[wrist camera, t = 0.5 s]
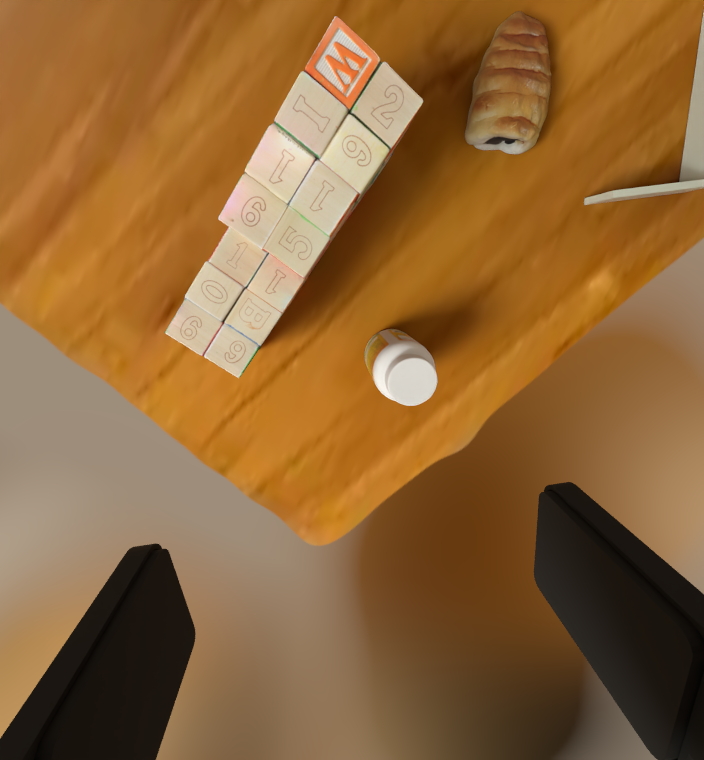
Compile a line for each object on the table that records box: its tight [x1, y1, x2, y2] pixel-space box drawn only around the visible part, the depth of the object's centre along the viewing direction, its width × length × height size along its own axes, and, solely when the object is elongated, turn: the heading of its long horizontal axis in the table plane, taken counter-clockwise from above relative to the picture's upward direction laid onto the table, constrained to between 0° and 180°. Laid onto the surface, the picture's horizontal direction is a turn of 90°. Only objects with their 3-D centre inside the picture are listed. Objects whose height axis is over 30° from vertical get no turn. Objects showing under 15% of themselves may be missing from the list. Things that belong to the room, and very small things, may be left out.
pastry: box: [465, 11, 551, 154], centre depth 29 cm, size 9×7×4 cm
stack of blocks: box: [165, 16, 423, 378], centre depth 27 cm, size 21×6×12 cm, turn 144°
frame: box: [584, 12, 704, 205], centre depth 30 cm, size 17×10×4 cm, turn 7°
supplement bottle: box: [365, 329, 437, 406], centre depth 32 cm, size 5×5×10 cm
